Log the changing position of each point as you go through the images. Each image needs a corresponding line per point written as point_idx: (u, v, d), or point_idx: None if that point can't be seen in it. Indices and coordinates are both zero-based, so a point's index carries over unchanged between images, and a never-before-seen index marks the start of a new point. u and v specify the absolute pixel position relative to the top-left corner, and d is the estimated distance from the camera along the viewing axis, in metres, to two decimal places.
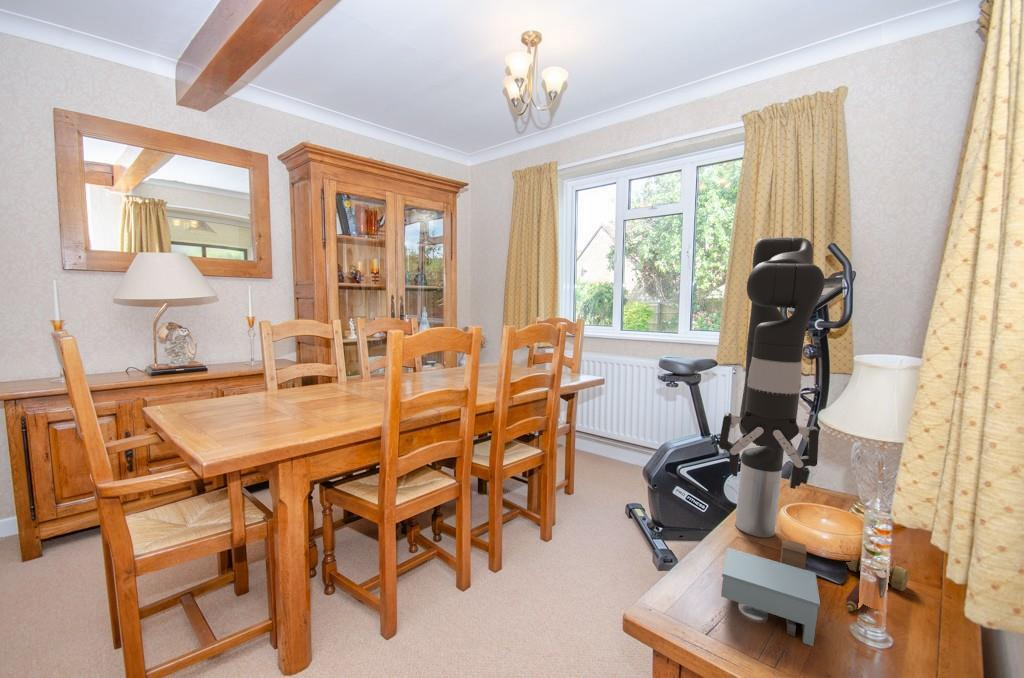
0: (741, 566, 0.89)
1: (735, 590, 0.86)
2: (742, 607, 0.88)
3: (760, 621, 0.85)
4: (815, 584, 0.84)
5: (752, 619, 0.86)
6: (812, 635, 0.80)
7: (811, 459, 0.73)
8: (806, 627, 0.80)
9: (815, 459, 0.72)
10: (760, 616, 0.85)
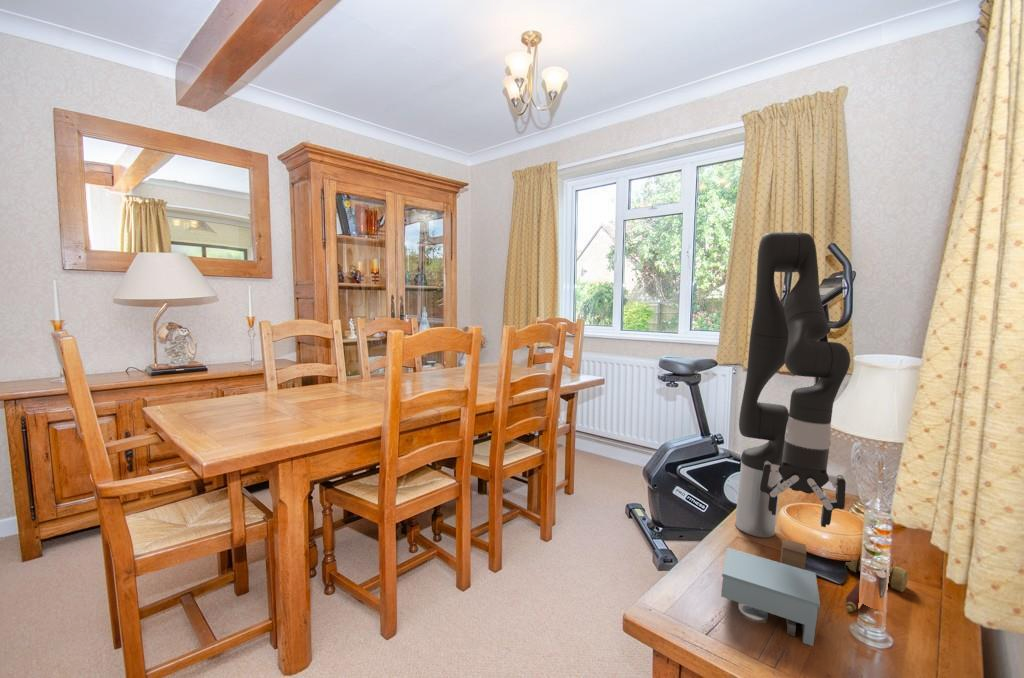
0: (741, 566, 0.89)
1: (735, 590, 0.86)
2: (742, 607, 0.88)
3: (760, 621, 0.85)
4: (815, 584, 0.84)
5: (752, 619, 0.86)
6: (812, 635, 0.80)
7: (839, 503, 0.88)
8: (806, 627, 0.80)
9: (842, 503, 0.88)
10: (760, 616, 0.85)
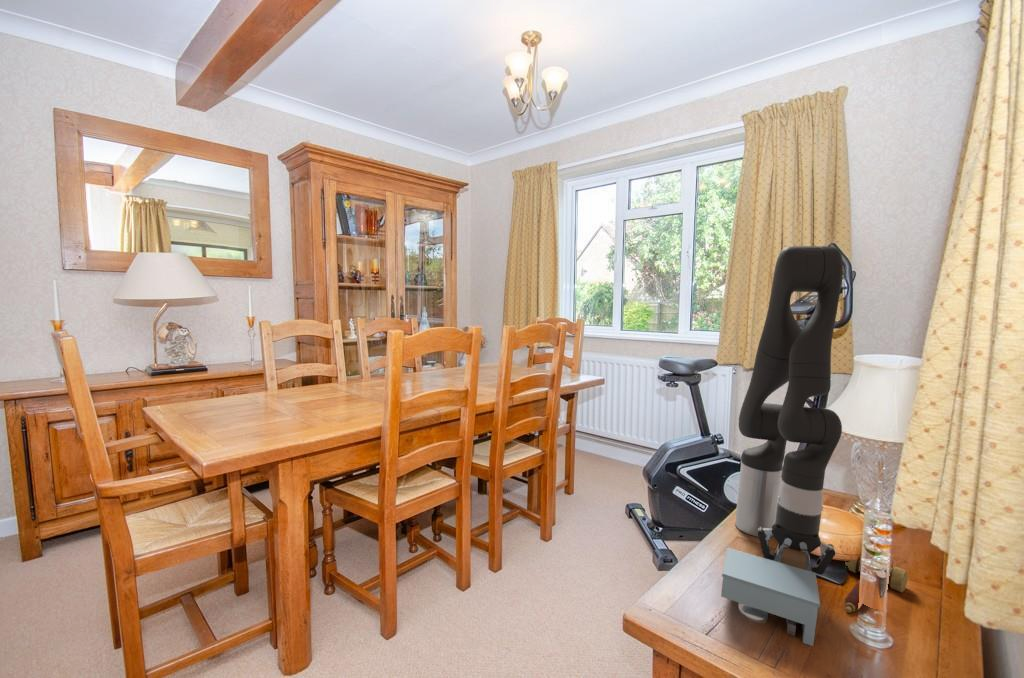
0: (741, 566, 0.89)
1: (735, 590, 0.86)
2: (742, 607, 0.88)
3: (760, 621, 0.85)
4: (815, 584, 0.84)
5: (752, 619, 0.86)
6: (812, 635, 0.80)
7: (818, 569, 0.91)
8: (806, 627, 0.80)
9: (822, 570, 0.90)
10: (760, 616, 0.85)
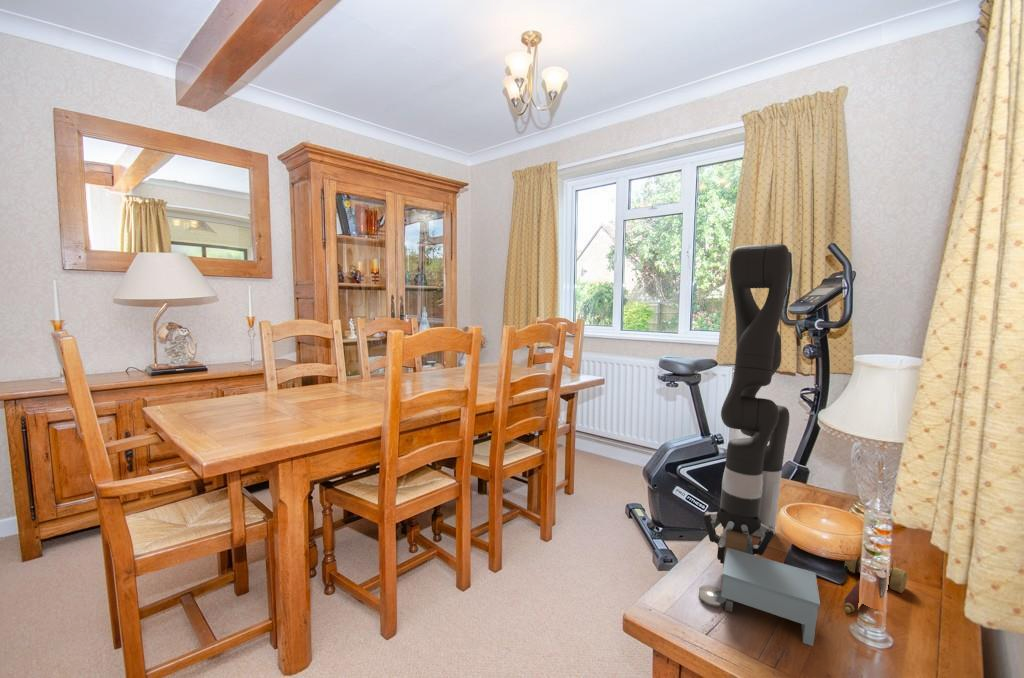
0: (741, 566, 0.89)
1: (735, 590, 0.86)
2: (702, 592, 0.91)
3: (718, 606, 0.89)
4: (815, 584, 0.84)
5: (710, 604, 0.89)
6: (812, 635, 0.80)
7: (758, 549, 0.96)
8: (806, 627, 0.80)
9: (762, 551, 0.96)
10: (718, 601, 0.89)
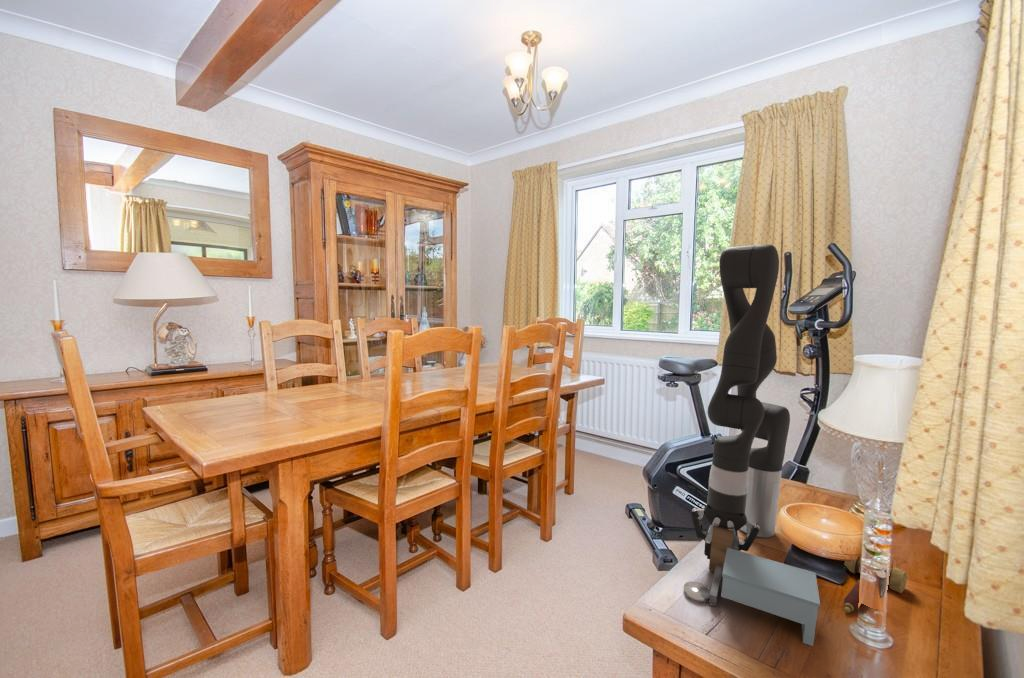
0: (741, 566, 0.89)
1: (735, 590, 0.86)
2: (687, 588, 0.93)
3: (702, 601, 0.90)
4: (815, 584, 0.84)
5: (695, 599, 0.90)
6: (812, 635, 0.80)
7: (744, 545, 0.97)
8: (806, 627, 0.80)
9: (748, 547, 0.97)
10: (702, 596, 0.90)
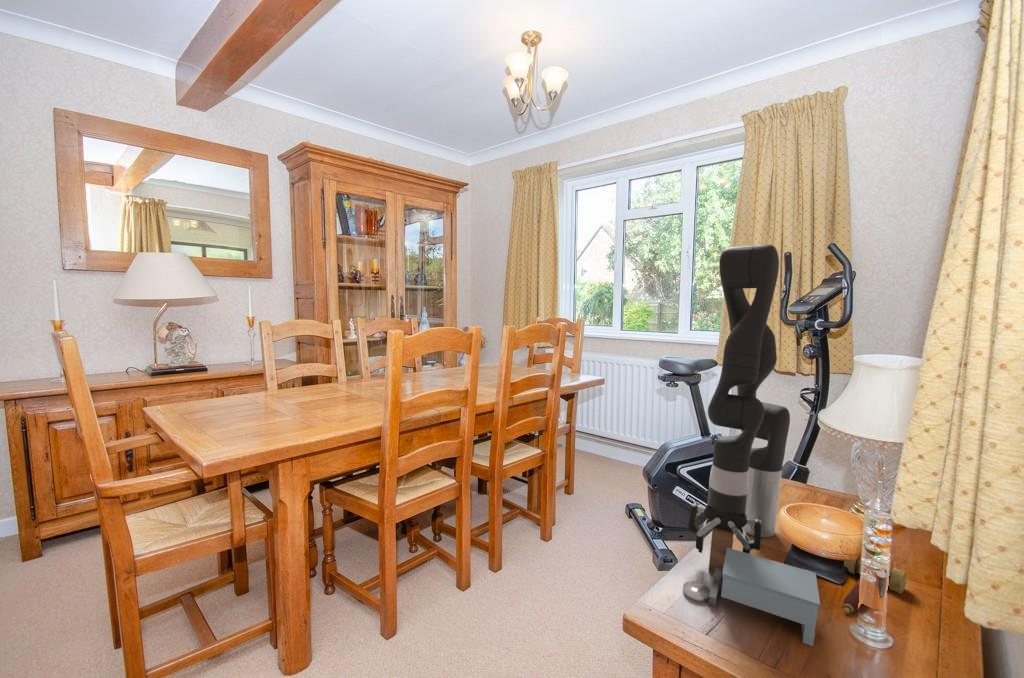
0: (741, 566, 0.89)
1: (735, 590, 0.86)
2: (686, 588, 0.93)
3: (701, 601, 0.90)
4: (815, 584, 0.84)
5: (694, 599, 0.90)
6: (812, 635, 0.80)
7: (756, 544, 0.96)
8: (806, 627, 0.80)
9: (759, 544, 0.96)
10: (702, 596, 0.90)
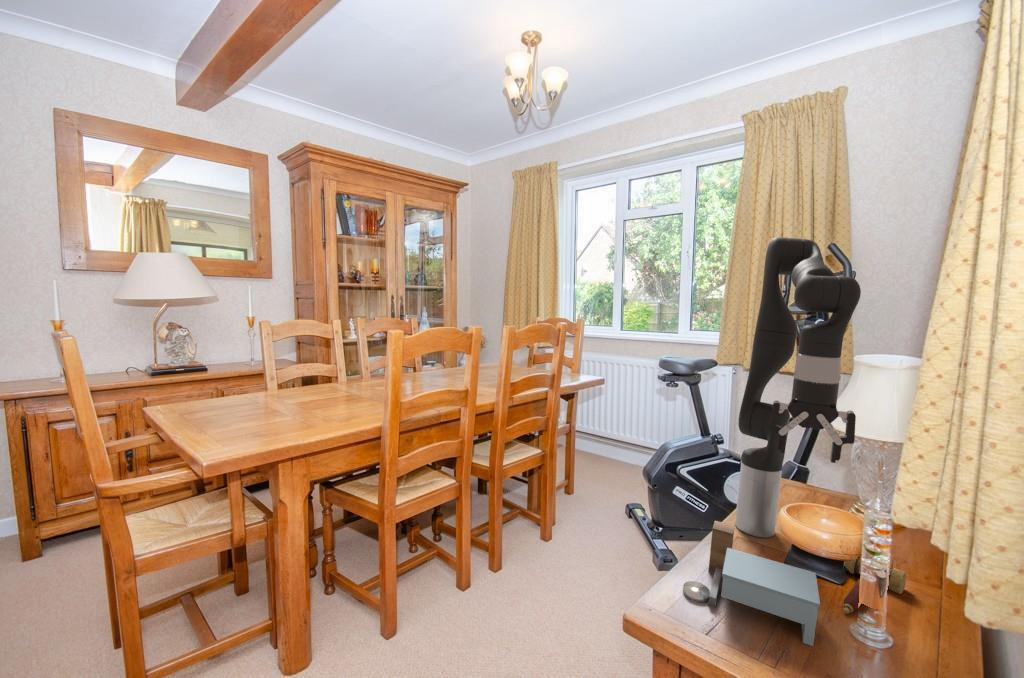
0: (741, 566, 0.89)
1: (735, 590, 0.86)
2: (686, 588, 0.93)
3: (702, 601, 0.90)
4: (815, 584, 0.84)
5: (694, 599, 0.90)
6: (812, 635, 0.80)
7: (849, 438, 0.88)
8: (806, 627, 0.80)
9: (852, 438, 0.88)
10: (702, 596, 0.90)
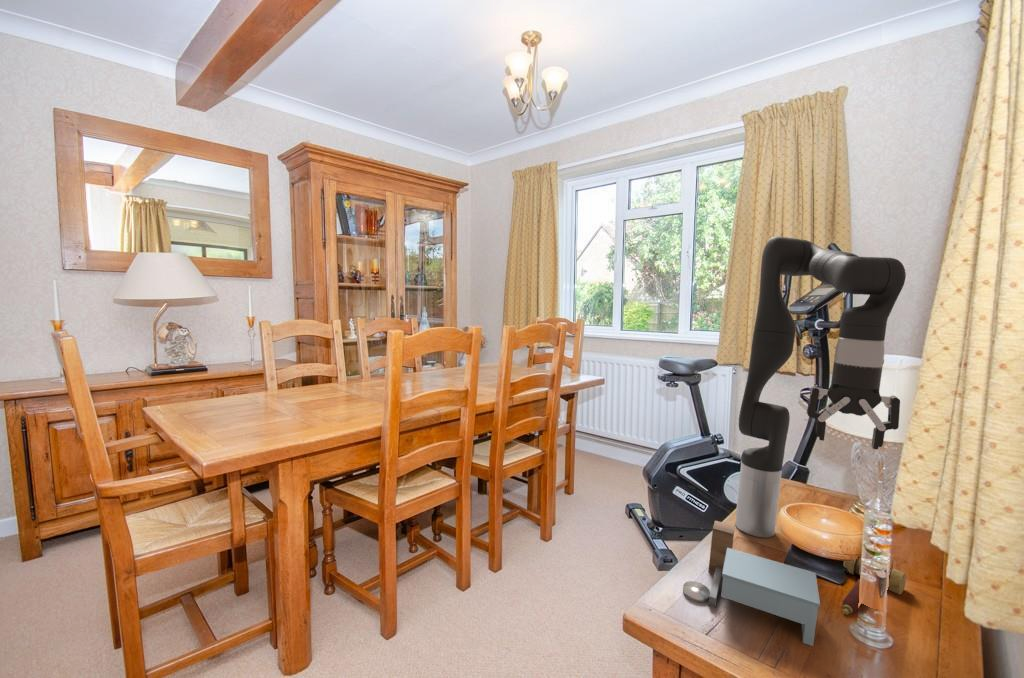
0: (741, 566, 0.89)
1: (735, 590, 0.86)
2: (686, 588, 0.93)
3: (702, 601, 0.90)
4: (815, 584, 0.84)
5: (694, 599, 0.90)
6: (812, 635, 0.80)
7: (893, 423, 0.86)
8: (806, 627, 0.80)
9: (896, 423, 0.85)
10: (702, 596, 0.90)
